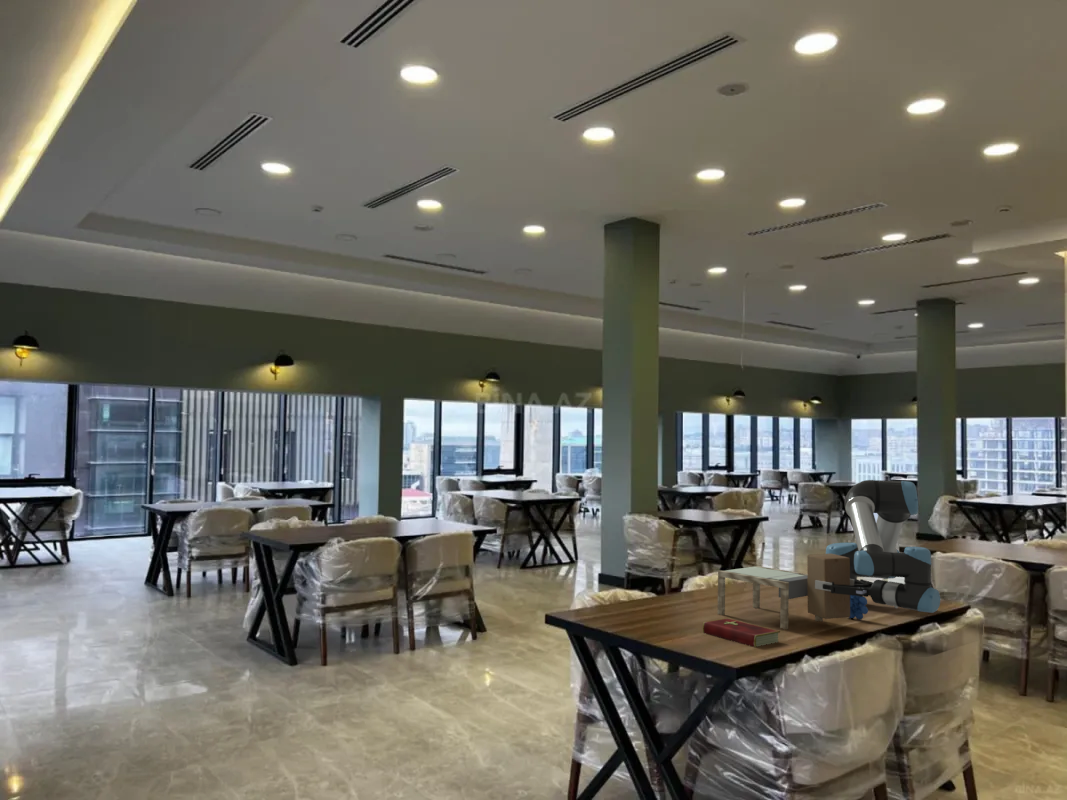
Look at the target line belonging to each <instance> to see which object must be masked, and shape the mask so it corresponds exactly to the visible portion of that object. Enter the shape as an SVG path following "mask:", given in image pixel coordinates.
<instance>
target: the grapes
mask: <svg viewBox="0 0 1067 800" xmlns="http://www.w3.org/2000/svg"><path fill="white" fill-rule="evenodd" d="M867 604H868V599H867V598H866V597H865V596H863V597H860V596H855V595H850V617H848V619H851V618H854V619H857V620H859V621H860V620H863V619H864V615H867V614H868V612H869V608H868V607H867V606H866V605H867Z"/></svg>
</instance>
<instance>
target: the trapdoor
mask: <svg viewBox="0 0 1067 800" xmlns="http://www.w3.org/2000/svg"><path fill="white" fill-rule="evenodd" d="M760 567H761V566H760ZM760 567H753V566H749V567H743V568H741V567H740V568H735V569H728V570H725V571H727V572H733V573H738V574H744V575H750V576H755V577H761V578H767V579H773V580H778V581H784V582H789V599H788V600H792V599H798V598H803V597H804V598H805V597H808V578H807V576H805V575H799V574H798V573H799V572H797V573H790V572H784V571H778V570H772V569H766V568H760ZM778 598H779V599H781V588H779V587H778Z"/></svg>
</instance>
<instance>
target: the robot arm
mask: <svg viewBox="0 0 1067 800" xmlns="http://www.w3.org/2000/svg"><path fill="white" fill-rule="evenodd" d="M918 499H919V498H918V491H917V486H916V485H915V483H914V482H912V481H906V480H882V479H881V480H878V479H875V480H873V479H867V480H862V481H859V482H857V483H856V484H855V485H853V486H852V487H851V488H850V489H849V491H848V492H847V493H846V496H845V499H844V509H845V512H846V514H847V515H848V516H849V518H850V521H851V525H852V530H853V533H854V537H855V541H856V542H837V543H830V544H828V545H827V546H826V549H825V554H836V555H840V556H844V557H848V558H850V585H839V584H834V582H832V583H829V582H824V581H818V580H815V589H820V590H826V591H831V593H836V594H846V595H855V596H860V597H865V598H866V597H869V596H870V598H871V600H872V602H873V603H875V604H879V605H887V606H889V607H890V606H892V607H893V606H894V609H898V608H902V609H907V610H913V611H916V612H921V613H922V612H923V613H930V614H931V613H932V614H933V613H935V612H937V611H938V609H939V608H940V605H941V596H940V592H939V589H936V588H934V587H932V580H931V579H932V556H931V550H929V549H928V548H927V547H921V546H906V547H905V548H904V551H903V552H900V550H898V549H897V544H898V541H899V537H900V534H901V530H902V527H903V523H904V522H906V521H907V520H909V518H910V516H914V515H918V513H919V501H918ZM875 514H877V519H876V517H875ZM858 578H860V579H858ZM861 578H870V579H871V578H874V579H875V580H873V581H870V580H866V579H861ZM896 578H904V580H903V583H902V582H897V581H896V582H895V581H891V580H889V581H888V580H887V579H896ZM883 579H884V580H883Z"/></svg>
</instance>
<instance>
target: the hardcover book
mask: <svg viewBox="0 0 1067 800" xmlns="http://www.w3.org/2000/svg"><path fill="white" fill-rule="evenodd" d="M780 632H781V631H780V630H777V629H773V628H770V627H765V626H761V625H759V624H758V625H756V624H753V623H749V622H745V621H741V620H737V619H733V618H730V617H725V618H719V619H713V620H708V621H707V620H705V621H703V623H702V633H703V634H705V633H706V635H709V634H710V635H709V636H712V637H716V636H717V638H720V637H721V639H723V640H728V641H731V640H732V642H734V641H735V643H739V644H742V645H745V644H746V645H747V646H749V645H750V647H753V646H754V647H753V648H756V646H757V647H762V646H765V645H766V644H767V645H771V643H772V644H775V642H776V643H778V642H779V633H780ZM746 645H745V646H746ZM761 645H762V646H761Z"/></svg>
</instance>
